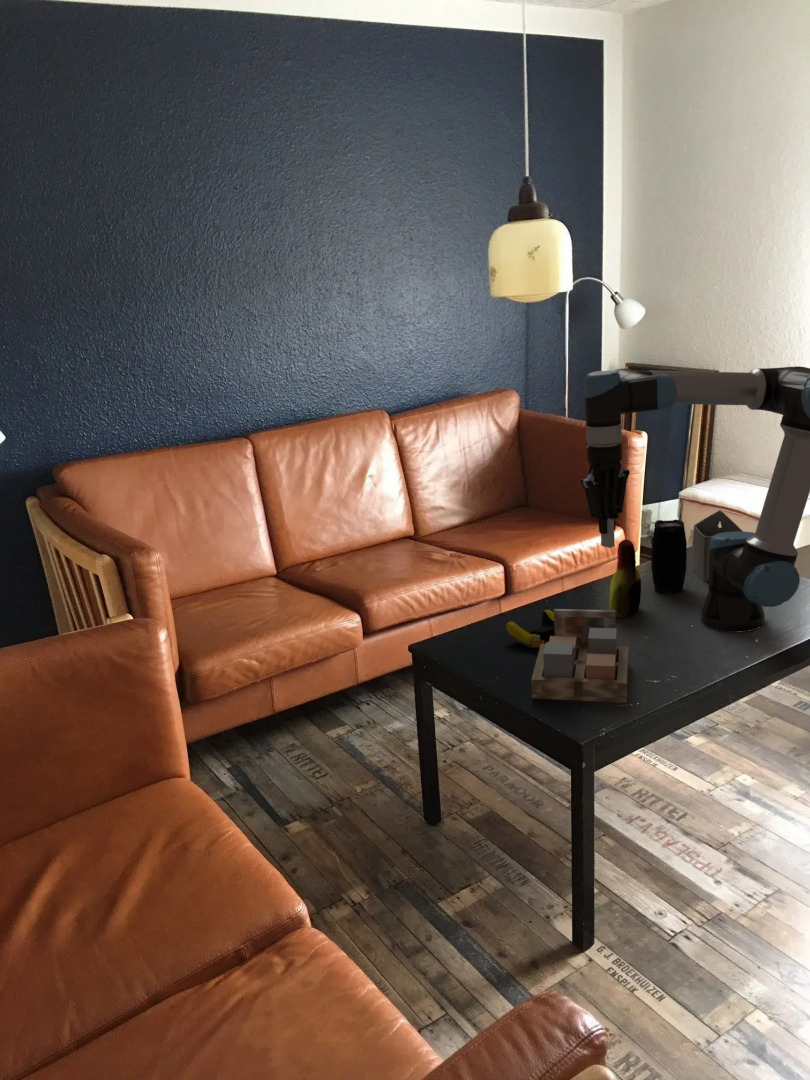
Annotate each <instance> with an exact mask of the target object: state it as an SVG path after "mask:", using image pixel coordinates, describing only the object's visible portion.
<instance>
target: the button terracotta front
mask: <svg viewBox="0 0 810 1080" xmlns="http://www.w3.org/2000/svg"><path fill="white" fill-rule="evenodd" d="M586 679H606V680H616V658H615V654H587V661H586Z"/></svg>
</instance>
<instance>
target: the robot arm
mask: <svg viewBox="0 0 810 1080" xmlns="http://www.w3.org/2000/svg"><path fill="white" fill-rule="evenodd" d="M583 384H584V385H583V386H584V390H583V391H584V392H583V397H584V409H585V430H586V431H585V435H586V443H587V446H586V458H587V459H586V460H587V462H588V463H589V468H588V475H587V476H586V478H582V479H580V485H581V486H582V488H583V490H584V493H585V497H586V501H587V505H588V510H589V514H590V518H591V519H596V520H598V533H599V534H600V541H601V542H600V544H601V547H605V548H608V549H612V548H615V546H616V545H615V543H616V542H615V531H616V529H617V528H616V526H617V525H616V519H618V518H620V515H619V514H622V513H623V509H624V504H625V503H624V501H625V495H626V488H627V487H626V486H627V480H628V477H629V476H630V472H631V471H630V469H625V468H623V467H622V464H621V461H622V460H623V444H622V443H621V442H622V440H623V437H622V436H623V435H622V434H623V433H622V415H627V414H631V413H632V414H634V413H643V412H653V411H657V412H658V411H661V410H665V409H670V408H673V406H674V405H709V406H710V405H711V406H713V405H717V406H746V407H747V408H748V409H749V410H751V411H766V412H770V413H774V414H779V415H782V417H781V420H780V424H779V426H780V427H781V429H782V431H783V433H784V436H783V439H782V441H781V442H782V443H781V445H780V450H779V452H778V455H777V456H778V457H777V459H776V462H775V466H774V469H773V473H772V475H771V479H770V482H769V485H768V490H767V493H766V497H765V499H764V503H763V507H762V510H761V511H760V512H761V513H760V516H759V519H758V523H757V526H756V530H755V532H753V531H743V532H724V533H719V534H716V535H714V536H713V537H712V538H711V540H710V548H709V550H710V552H709V582H708V592H707V594H706V597H705V600H704V603H703V605H702V607H701V609H700V610H701V611H700V621H701V623H702V624H703V625H704V626H706V627H709V628H711V629H713V630H716V629H718V631H720V630H724V631H723V632H727V631H734V632H733V633H736V632H735V631H748V630H753V629H756V628H758V627H761V626H762V625H763V624H765V615H766V614H765V610H764V608H763V607H765V608H773V607H774V608H775V607H777V606H781V605H782V604H784V603H785V602H789V600H791V598H792V597H793V596H794V595H795V594H796V592H797V591H798V589H799V586H800V582H801V578H800V577H801V576H800V573H798V572H799V571H798V569H797V568H796V567H795V565H796V561H797V558H798V554H799V552H798V550H797V549H796V547H795V541H796V538H797V534H798V531H799V528H800V524H801V523H802V522H801V521H802V518H803V515H804V511H805V509H806V505H807V502H808V499H809V496H810V367H806V366H784V367H783V366H782V367H769V368H765V367H764V368H752V369H751V370H750V371H749V372H743V371H741V372H740V371H739V372H736V371H732V372H731V371H728V372H727V371H695V370H694V371H691V370H690V371H689V370H688V371H687V370H686V371H685V370H644V369H643V370H639V369H638V370H637V369H636V370H635V369H634V370H633V369H628V368H616V369H614V370H598V371H597V370H596V371H592V372H589V373H587V374H586V376H585V377H584V383H583ZM763 626H764V625H763ZM763 626H762V627H763ZM762 627H761V628H762ZM756 630H757V629H756ZM753 631H754V630H753ZM748 632H749V631H748Z"/></svg>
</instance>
